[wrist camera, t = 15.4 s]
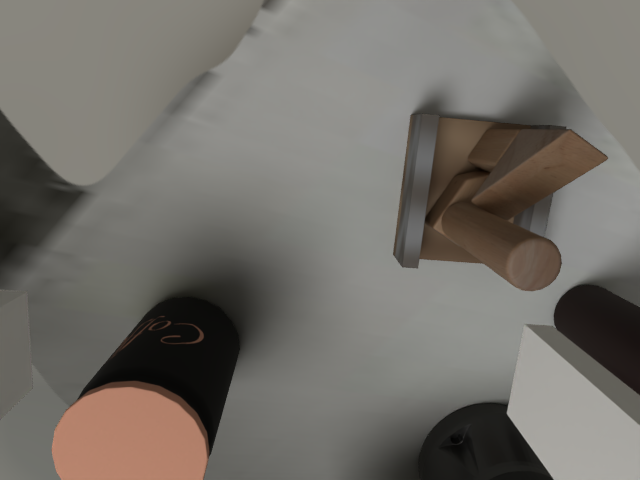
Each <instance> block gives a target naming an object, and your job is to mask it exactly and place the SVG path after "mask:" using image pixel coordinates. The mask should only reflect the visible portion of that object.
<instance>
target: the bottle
mask: <svg viewBox="0 0 640 480" xmlns="http://www.w3.org/2000/svg"><path fill="white" fill-rule="evenodd" d="M554 324H555V326H556V328H557V330H558V331H559V332H560V333H562V334H563V335H564V336H565V337H567V338H568V339H569V340H570V341H572V342H573V343H574V344H575V345H577V346H578V347H579V348H580V349H582V350H583V351H584V352H586V353H587V354H588V355H589V356H591V357H592V358H593V359H594V360H596V361H597V362H598V363H599V364H601V365H602V366H603V367H604V368H606V369H607V370H608V371H610V372H611V373H612V374H613V375H615V376H616V377H617V378H618V379H620V380H621V381H622V382H623V383H625V384H626V385H627V386H628V387H630V388H631V389H632V390H634V391H635V392H636V393H637V394H639V395H640V307H638V306H636V305H634V304H632V303H630V302H628V301H627V300H625V299H623V298H621V297H619V296H617V295H615V294H613V293H612V292H610V291H608V290H606V289H604V288H602V287H599V286H595V285H583V286H578V287H576V288H574V289H572V290H570V291H568V292H567V293H566V294H565V295H564V296H563V297H562V298H561V299H560V301H559V302H558V304H557V306H556V309H555V313H554Z"/></svg>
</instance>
